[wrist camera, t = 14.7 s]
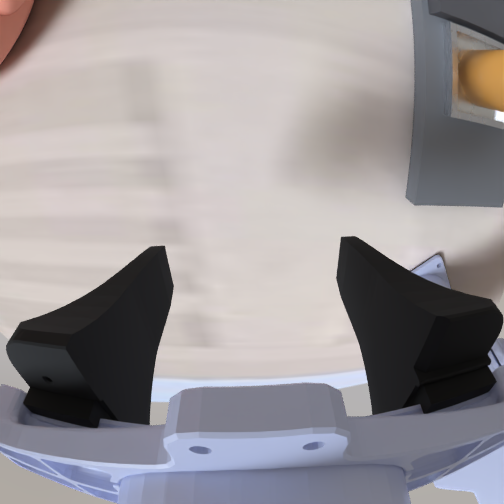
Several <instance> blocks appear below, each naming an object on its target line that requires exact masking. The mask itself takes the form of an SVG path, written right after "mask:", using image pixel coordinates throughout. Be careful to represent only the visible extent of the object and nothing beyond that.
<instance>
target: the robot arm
mask: <svg viewBox="0 0 504 504" xmlns="http://www.w3.org/2000/svg"><path fill="white" fill-rule="evenodd" d="M336 279H337V283H338V287H339V291H340V295H341V298H342V301H343V303H344V306H345V308H346V311H347V314H348V316H349V318H350V321H351V323H352V326H353V329H354V331H355V334H356V336H357V339H358V342H359V345H360V349H361V353H362V357H363V361H364V365H365V370H366V375H367V380H368V386H369V392H370V399H371V405H372V414H373V415H370V416H365V417H351V416H347V415H346V411H345V406H344V402H343V398H342V393H341V392H340V391H339V390H337V389H335V388H333V387H331V386H329V385H327V384H324V383H294V384H280V385H264V386H236V387H199V388H191V389H185V390H182V391H181V392H179V393H178V394H176V395H175V396H173V397H171V398H170V402H169V407H168V414H167V420H166V424H164V425H153V426H152V425H150V404H151V391H152V382H153V374H154V367H155V360H156V355H157V350H158V346H159V343H160V340H161V336H162V333H163V330H164V326H165V323H166V320H167V316H168V313H169V310H170V306H171V300H172V294H173V287H174V285H173V281H172V277H171V272H170V268H169V264H168V259H167V255H166V250H165V246H152V247H149V248H148V249H146V250H145V251H144V252H143V253H141V254H140V255H139V256H138V257H136V258H135V259H134V260H133V261H131V262H130V263H129V264H128V265H127V266H125V267H124V268H123V269H122V270H120V271H119V272H118V273H116V274H115V275H114V276H113V277H111V278H110V279H109V280H107V281H106V282H105V283H103V284H102V285H100V286H99V287H97V288H96V289H94V290H93V291H91V292H89V293H88V294H86V295H85V296H83V297H81V298H79V299H77V300H75V301H73V302H71V303H70V304H68V305H66V306H64V307H61V308H59V309H57V310H55V311H52V312H50V313H47V314H45V315H42V316H39V317H36V318H33V319H30V320H27V321H23V322H21V323H20V324H19V326H18V327H17V329H16V330H15V332H14V334H13V335H12V337H11V338H10V340H9V342H8V343H7V345H6V351H7V354H8V357H9V359H10V361H11V363H12V364H13V366H14V367H15V368H16V370H17V371H18V372H19V374H20V375H21V376H22V378H23V379H24V380H25V381H26V383H27V384H28V385H29V386H30V389H29V391H28V393H25V392H24V391H22V390H21V389H18V388H15V387H11V386H8V385H5V384H1V386H0V452H1V453H2V454H3V455H5V456H6V457H7V458H9V459H10V460H11V461H13V462H14V463H15V464H17V465H18V466H20V467H22V468H24V469H27V470H29V471H31V472H33V473H36V474H38V475H40V476H43V477H45V478H47V479H50V480H52V481H55V482H57V483H59V484H62V485H64V486H67V487H70V488H72V489H75V490H78V491H80V492H83V493H86V494H89V495H92V496H95V497H98V498H101V499H104V500H108V501H111V502H114V503H117V504H411V501H410V497H409V493H408V492H409V491H412V490H414V489H417V488H419V487H422V486H424V485H427V484H429V483H432V482H433V483H434V485H435V487H437V488H441V489H448V490H459V491H469V492H473V493H474V494H475V497H476V498H477V501H478V503H479V504H504V339H503V338H498V339H497V337H498V336H499V334H500V331H501V329H502V325H503V315H502V314H501V312H500V310H499V309H498V308H497V306H496V305H495V304H494V302H493V301H492V300H491V299H487V298H482V297H478V296H473V295H469V294H465V293H462V292H458V291H455V290H452V289H451V287H450V283H449V280H448V276H447V273H446V269H445V266H444V263H443V260H442V258H441V256H440V255H435V256H434V257H432V258H431V259H429V260H428V261H426V262H425V263H423V264H422V265H420V266H419V267H417V268H416V269H414V270H413V271H409V270H407V269H405V268H404V267H402V266H400V265H399V264H397V263H395V262H394V261H392V260H391V259H389V258H388V257H386V256H385V255H383V254H382V253H380V252H379V251H377V250H376V249H374V248H373V247H371V246H370V245H368V244H367V243H365V242H364V241H362V240H361V239H359V238H357V237H355V236H351V237H341V242H340V251H339V260H338V269H337V277H336Z"/></svg>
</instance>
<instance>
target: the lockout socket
mask: <svg viewBox="0 0 504 504" xmlns="http://www.w3.org/2000/svg"><path fill="white" fill-rule="evenodd" d="M442 25H443V40H444V107H443V115H446V116H449V117H453V118H458V119H463V120H467V121H472V122H476V123H481V124H485V125H489V126H493V127H496V128H500V129H504V113H503V112H499V111H495V110H491V109H487V108H483V107H479V106H476V105H475V104H473V103H472V102H471V101H470V100H469V99H468V98H467V96H466V95H465V93H464V91H463V89H462V87H461V84H460V80H459V63H460V60H461V58H462V56H463V55H464V54H465V53H466V52H467V51H469V50H504V44H502V43H500V42H497V41H495V40H493V39H491V38H489V37H487V36H484V35H482V34H480V33H477V32H475V31H473V30H470V29H468V28H465V27H462V26H460V25H457V24H454V23H452V22H448V23H442Z"/></svg>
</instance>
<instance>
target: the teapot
mask: <svg viewBox="0 0 504 504" xmlns="http://www.w3.org/2000/svg"><path fill="white" fill-rule="evenodd" d="M33 3H34V0H0V64H1V63H2V61H3V60H4V59H5V57H6V56H7V54H8V53H9V51H10V50H11V48H12V47H13V45H14V44H15V42H16V40H17V38H18V37H19V35H20V33H21V31H22V29H23V27H24V25H25V23H26V21H27V19H28V16H29V14H30V11H31V9H32V6H33Z"/></svg>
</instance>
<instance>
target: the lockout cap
mask: <svg viewBox="0 0 504 504" xmlns="http://www.w3.org/2000/svg"><path fill="white" fill-rule="evenodd" d="M459 80H460V84H461V87H462V89H463V91H464V93H465V95H466V96H467V98H468V99H469V100H470V101H471V102H472V103H473V104H475V105H476V106H479V107H483V108H487V109H491V110H495V111H499V112H503V113H504V50H469V51H467V52H466V53H465V54H464V55H463V56H462V58H461V60H460V63H459Z"/></svg>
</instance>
